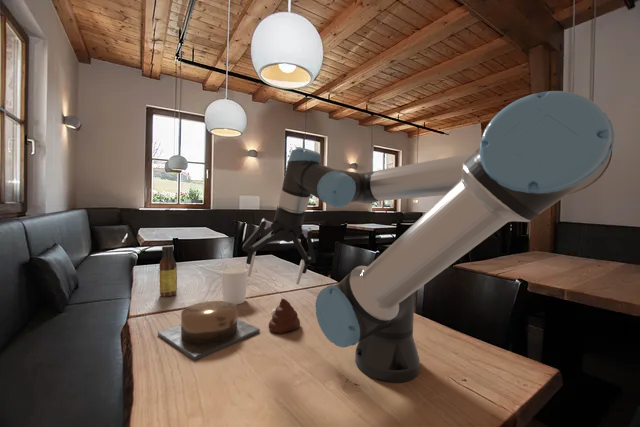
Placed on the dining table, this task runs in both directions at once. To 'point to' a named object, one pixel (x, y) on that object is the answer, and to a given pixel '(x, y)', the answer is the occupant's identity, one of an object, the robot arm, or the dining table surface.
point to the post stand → (207, 329)
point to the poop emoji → (284, 318)
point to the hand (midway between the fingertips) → (273, 278)
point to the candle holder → (234, 285)
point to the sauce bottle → (168, 273)
